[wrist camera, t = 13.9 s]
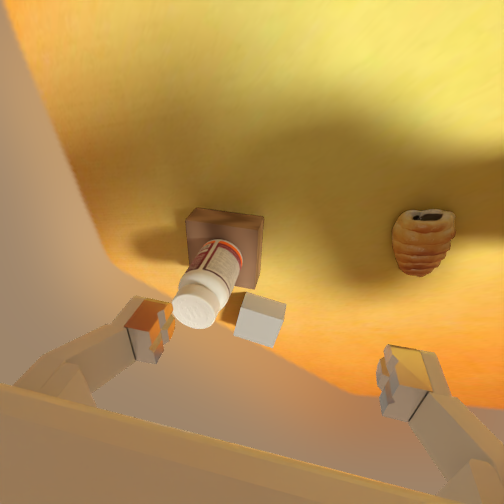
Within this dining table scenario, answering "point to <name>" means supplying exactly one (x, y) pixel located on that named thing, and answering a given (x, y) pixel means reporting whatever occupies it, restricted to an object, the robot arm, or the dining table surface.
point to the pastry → (422, 239)
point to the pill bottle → (207, 284)
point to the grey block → (260, 319)
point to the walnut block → (228, 238)
